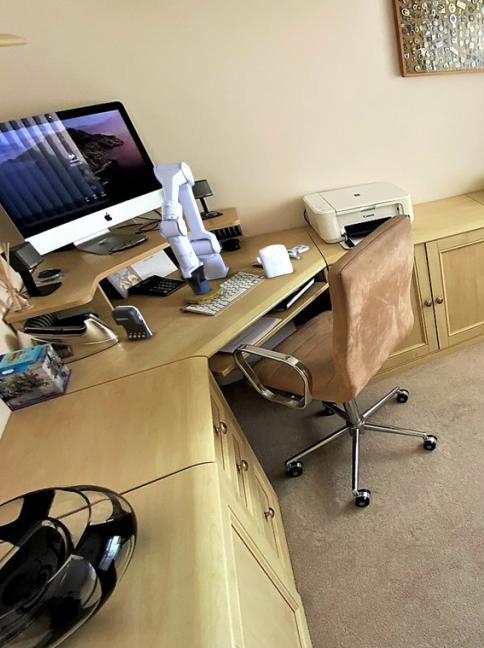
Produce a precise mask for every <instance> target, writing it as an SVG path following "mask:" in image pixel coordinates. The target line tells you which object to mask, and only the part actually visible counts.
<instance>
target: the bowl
mask: <svg viewBox="0 0 484 648" xmlns="http://www.w3.org/2000/svg"><path fill="white" fill-rule="evenodd" d="M199 281H200V285H201V288H202V291H201V292H196V293H195V292H194V291H193V289H192V288H191V287H190V290H191V289H192V291H193V293H194V294H196V295H202V294H205V293H208V292H209V291H210V289H211V288H210V285H209V284H210V283H209V280H207V279H206V278H199Z"/></svg>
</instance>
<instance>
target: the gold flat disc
mask: <svg viewBox="0 0 484 648" xmlns="http://www.w3.org/2000/svg"><path fill="white" fill-rule="evenodd" d="M209 285H210V288H211V289H210V291H209V292H208V293H205V294H202V295H196V294H194V293H193V291H192V289H191V288H190V290H187V292H185V293H184V296H183V298H184V299H185V301H186V303H187V304H188V303H189V304H198V305H205V304H209V303H211V301H212V300H214V299H216V298H218V297H219V296H222V295H223V294H224V291H223V289H222V287H221V285H220V284H217V283H209Z"/></svg>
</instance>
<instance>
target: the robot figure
mask: <svg viewBox="0 0 484 648" xmlns="http://www.w3.org/2000/svg"><path fill="white" fill-rule="evenodd" d="M286 250H287V253H288V256H289V258H293V259H296V260H300V259H301V256H300V255H298V254H301V253H304V252H306V251H308V250H310V246H309V245H306V244H299V245H296V246H294V247H291V248H290V249H286ZM255 260H256V262H257V264H258V265H259V266H260V265H262V263H261V260H260V257H259V255H258V256H255Z"/></svg>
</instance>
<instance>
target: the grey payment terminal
mask: <svg viewBox="0 0 484 648" xmlns="http://www.w3.org/2000/svg"><path fill="white" fill-rule="evenodd" d="M110 315H111V317H112V319H113V321H114V323H115V324H116V325H117V326H122V328H123V329H124V330H125V333H126V336H127V339H128V340H130V341H141V340H146V339H149V338H151V336H153V335H154V333H153V331H152V330H151V328H150V326H149V324H148V322H147V320H146V319H145V317H144V315H143V314H142V312H141V310H140V308H138V307H137V306H135V305H118V306H116V307H115V308H114V309H112V311H111V312H110Z"/></svg>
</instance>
